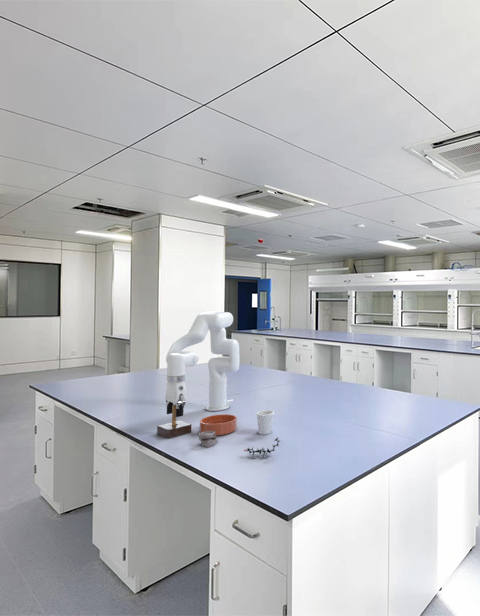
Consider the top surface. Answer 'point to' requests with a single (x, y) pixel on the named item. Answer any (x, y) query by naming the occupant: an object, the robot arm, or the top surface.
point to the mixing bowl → (219, 424)
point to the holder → (174, 429)
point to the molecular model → (262, 449)
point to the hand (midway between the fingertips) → (174, 414)
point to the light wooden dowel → (174, 414)
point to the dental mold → (207, 438)
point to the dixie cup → (265, 421)
